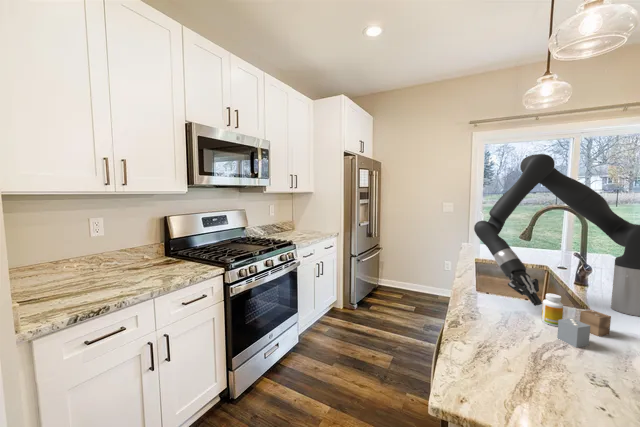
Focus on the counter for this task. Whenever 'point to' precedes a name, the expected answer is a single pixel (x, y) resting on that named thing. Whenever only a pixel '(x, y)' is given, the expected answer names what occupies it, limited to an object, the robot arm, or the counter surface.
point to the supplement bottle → (552, 309)
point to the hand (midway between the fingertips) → (538, 304)
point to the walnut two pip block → (596, 322)
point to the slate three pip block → (573, 332)
